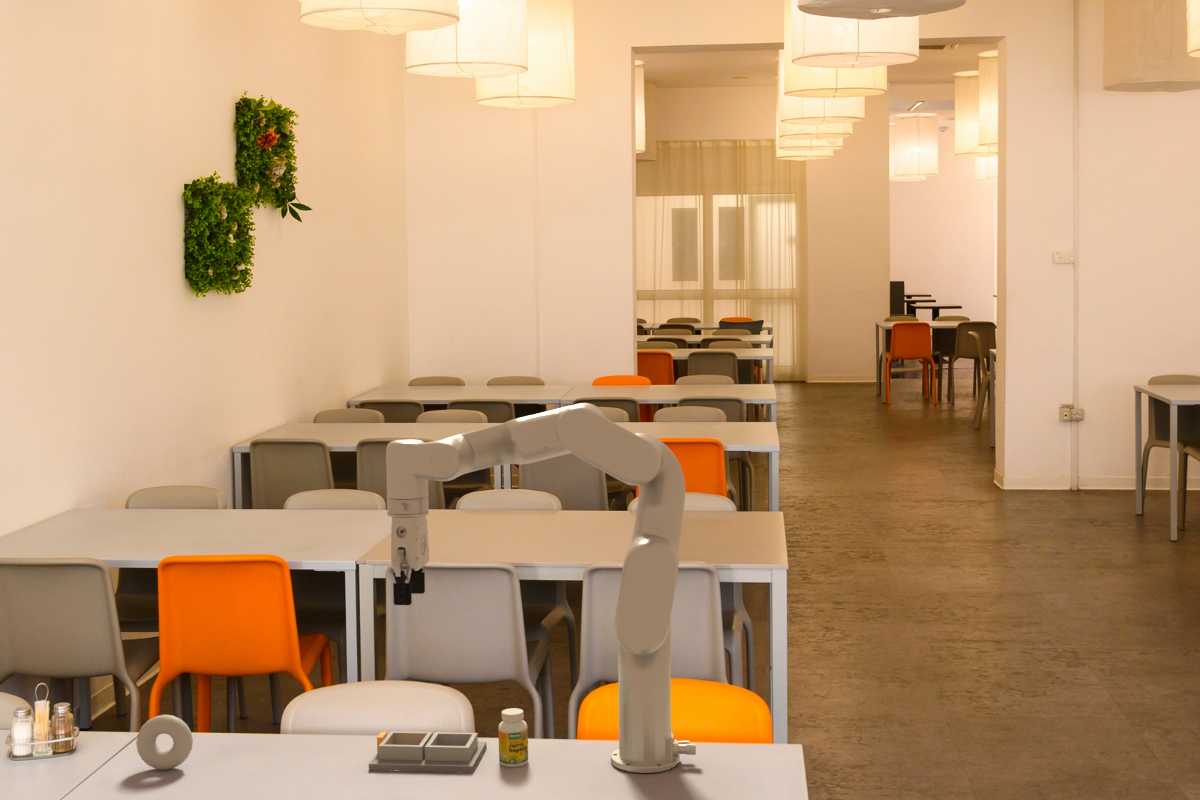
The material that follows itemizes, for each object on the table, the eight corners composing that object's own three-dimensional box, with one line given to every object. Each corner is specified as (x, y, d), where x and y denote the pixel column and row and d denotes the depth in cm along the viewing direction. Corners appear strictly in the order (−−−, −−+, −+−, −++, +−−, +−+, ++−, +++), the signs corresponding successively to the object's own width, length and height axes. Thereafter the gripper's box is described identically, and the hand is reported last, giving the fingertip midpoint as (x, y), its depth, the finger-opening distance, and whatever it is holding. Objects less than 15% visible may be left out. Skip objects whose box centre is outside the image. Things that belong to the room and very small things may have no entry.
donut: (196, 765, 216) (194, 711, 216) (190, 771, 213) (188, 717, 213) (141, 766, 216) (139, 712, 216) (134, 773, 213) (132, 718, 212)
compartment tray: (486, 747, 224) (486, 725, 223) (472, 772, 211) (472, 748, 210) (388, 745, 225) (388, 723, 225) (368, 770, 212) (368, 746, 212)
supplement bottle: (519, 755, 219) (518, 704, 219) (533, 764, 215) (532, 712, 214) (493, 761, 216) (492, 710, 216) (507, 770, 212) (506, 717, 211)
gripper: (416, 513, 208) (417, 609, 209) (438, 500, 225) (440, 589, 226) (374, 513, 209) (376, 609, 209) (400, 500, 226) (402, 588, 227)
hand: (409, 598), depth 218 cm, fingers open, 9 cm apart
